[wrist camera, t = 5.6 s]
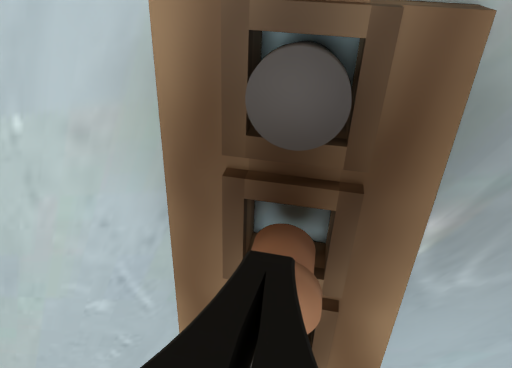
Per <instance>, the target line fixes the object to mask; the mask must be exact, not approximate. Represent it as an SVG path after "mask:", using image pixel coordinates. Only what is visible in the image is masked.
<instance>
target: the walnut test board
mask: <svg viewBox="0 0 512 368" xmlns="http://www.w3.org/2000/svg"><path fill="white" fill-rule="evenodd" d="M149 11H150V22H151V32H152V43H153V54H154V64H155V75H156V86H157V97H158V107H159V118H160V129H161V140H162V150H163V161H164V172H165V182H166V193H167V204H168V215H169V225H170V236H171V247H172V257H173V268H174V279H175V290H176V300H177V311H178V322H179V332H180V333H181V332H182V331H183V330H184V329H185V328H186V327H187V326H188V325H189V324H190V323H191V322H192V321H193V320H194V319H195V318H196V317H197V316H198V314H199V313H200V312H201V311H202V310H203V309H204V308H205V307H206V306H207V305H208V304H209V303H210V301H211V300H212V299H213V298H214V297H215V296H216V294H217V293H218V292H219V291H220V289H221V288H222V287H223V286H224V285H225V283H226V282H227V281H228V280H229V278H230V277H231V276H232V274H233V273H234V271H235V270H236V269H237V267H238V266H239V264H240V263H241V261H242V260H243V258H244V257H245V255H246V253H247V252H249V251H250V250H251V248H252V245H253V242H254V239H255V237H256V235H257V234H258V233H253V226H254V204H255V200H258V201H266V202H273V203H280V204H288V205H295V206H302V207H310V208H317V209H324V210H331V215H330V221H329V227H328V233H327V239H326V243H319V242H314V244H315V249H316V253H315V265H314V276H315V277H316V278H317V280H318V281H319V283H320V285H321V289H322V313H321V319H320V321H319V323H318V325H317V326H316V328H315V329H314V330H313V331H312V332H310V333H309V334H307V335H308V339H309V342H310V345H311V348H312V351H313V354H314V357H315V360H316V363H317V366H318V368H380V366H381V363H382V360H383V357H384V354H385V351H386V348H387V345H388V342H389V339H390V335H391V332H392V329H393V326H394V323H395V320H396V317H397V314H398V311H399V308H400V305H401V302H402V299H403V296H404V293H405V290H406V286H407V283H408V280H409V277H410V274H411V271H412V268H413V265H414V262H415V259H416V256H417V253H418V250H419V247H420V244H421V241H422V238H423V234H424V231H425V228H426V225H427V222H428V219H429V216H430V213H431V210H432V207H433V204H434V201H435V198H436V195H437V192H438V189H439V186H440V182H441V179H442V176H443V173H444V170H445V167H446V164H447V161H448V158H449V155H450V152H451V149H452V146H453V143H454V140H455V137H456V133H457V130H458V127H459V124H460V121H461V118H462V115H463V112H464V109H465V106H466V103H467V100H468V97H469V94H470V91H471V88H472V85H473V81H474V78H475V75H476V72H477V69H478V66H479V63H480V60H481V57H482V54H483V51H484V48H485V45H486V42H487V39H488V36H489V33H490V29H491V26H492V23H493V20H494V17H495V14H496V10H493V9H490V8H487V7H484V6H481V5H476V4H459V3H442V2H425V1H408V0H149ZM262 31H273V32H287V33H301V34H314V35H328V36H342V37H355V38H360V42H359V48H358V54H357V60H356V66H355V72H354V78H353V84H352V90H351V96H352V103H351V110H350V114H349V117H348V119H347V121H346V123H345V125H344V127H343V128H342V130H341V131H340V132H339V133H338V134H337V135H336V136H335V137H334V138H333V139H332V140H330V141H329V142H327V143H326V144H324V145H322V146H320V147H317V148H314V149H310V150H303V151H295V150H287V149H284V148H280V147H278V146H276V145H273V144H272V143H270V142H268V141H267V140H266V139H264V138H263V137H262V136H261V135H260V134H259V133H258V132H257V130H256V129H255V128H254V126H253V125H252V123H251V121H250V119H249V116H248V113H247V110H246V104H245V95H246V88H247V84H248V81H249V78H250V76H251V74H252V73H253V71H254V70H255V68H256V67H257V66H258V64H259V63H260V62H261V45H262Z"/></svg>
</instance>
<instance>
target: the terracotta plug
mask: <svg viewBox="0 0 512 368" xmlns="http://www.w3.org/2000/svg"><path fill="white" fill-rule="evenodd" d="M251 250H253V251H259V252H265V253H271V254H277V255H283V256H289V257H292V258H293V259H294V260H295V279H296V287H297V294H298V299H299V304H300V308H301V312H302V317H303V321H304V325H305V328H306V332H307V334H309V333H310V332H312V331H313V330H314V329H315V328H316V326H317V325H318V323H319V321H320V319H321V313H322V289H321V285H320V283H319V281H318V280H317V278H316V277H315V276H314V265H315V253H316V249H315V244H314V242H313V240H312V239H311V237H310V236H309V235H308V234H307V233H306V232H305V231H303V230H302V229H300V228H298V227H296V226H293V225H289V224H273V225H269V226H267V227H265V228H263V229H262V230H260V231H259V232H258V234H257V235H256V237H255V239H254V242H253V245H252V248H251ZM234 272H235V271H234Z"/></svg>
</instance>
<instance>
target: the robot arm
mask: <svg viewBox="0 0 512 368" xmlns="http://www.w3.org/2000/svg"><path fill="white" fill-rule="evenodd" d="M253 357H254V358H253ZM252 361H253V362H252ZM251 364H252V366H251ZM250 367H251V368H318V366H317V363H316V360H315V357H314V354H313V351H312V348H311V345H310V342H309V339H308V335H307V332H306V328H305V325H304V321H303V317H302V312H301V308H300V304H299V299H298V294H297V287H296V279H295V260H294V259H293V258H292V257H289V256H283V255H277V254H271V253H265V252H259V251H253V250H250V251H249V252H247V253H246V255H245V257H244V258H243V260H242V261H241V263H240V264H239V266H238V267H237V269H236V270H235V272H234V273H233V274H232V276H231V277H230V278H229V280H228V281H227V282H226V283H225V285H224V286H223V287H222V288H221V289H220V291H219V292H218V293H217V294H216V296H215V297H214V298H213V299H212V300H211V301H210V303H209V304H208V305H207V306H206V307H205V308H204V309H203V310H202V311H201V312H200V313H199V314H198V316H197V317H196V318H195V319H194V320H193V321H192V322H191V323H190V324H189V325H188V326H187V327H186V328H185V329H184V330H183V331H182V332H181V333H180V334H179V335H178V336H177V337H175V338H174V339H173V340H172V341H171V342H170V343H169V344H168V345H167V346H166V347H164V348H163V349H162V350H161V351H160V352H159V353H157V354H156V355H155V356H154V357H153V358H151V359H150V360H149V361H148V362H147V363H145V364H144V365H143V366H142V367H140V368H250Z"/></svg>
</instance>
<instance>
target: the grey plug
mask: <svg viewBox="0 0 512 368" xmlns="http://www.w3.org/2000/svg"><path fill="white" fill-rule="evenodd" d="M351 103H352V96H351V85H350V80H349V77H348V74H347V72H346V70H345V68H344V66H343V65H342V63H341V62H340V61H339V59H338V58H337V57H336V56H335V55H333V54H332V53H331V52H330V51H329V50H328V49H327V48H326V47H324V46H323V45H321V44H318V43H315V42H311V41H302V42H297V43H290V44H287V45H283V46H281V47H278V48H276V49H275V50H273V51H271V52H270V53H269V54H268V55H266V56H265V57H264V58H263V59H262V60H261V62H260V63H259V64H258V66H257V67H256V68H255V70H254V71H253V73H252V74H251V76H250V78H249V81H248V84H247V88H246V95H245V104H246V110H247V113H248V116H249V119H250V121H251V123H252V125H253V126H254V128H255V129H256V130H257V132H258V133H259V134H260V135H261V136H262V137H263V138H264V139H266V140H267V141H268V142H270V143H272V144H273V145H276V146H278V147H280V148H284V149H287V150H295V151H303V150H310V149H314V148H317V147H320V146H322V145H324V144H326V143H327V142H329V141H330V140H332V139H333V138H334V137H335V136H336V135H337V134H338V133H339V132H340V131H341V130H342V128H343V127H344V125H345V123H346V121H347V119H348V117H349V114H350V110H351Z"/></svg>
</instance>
